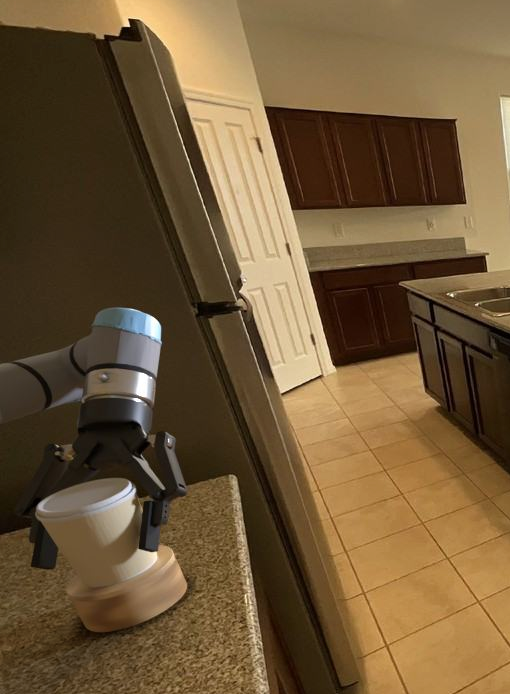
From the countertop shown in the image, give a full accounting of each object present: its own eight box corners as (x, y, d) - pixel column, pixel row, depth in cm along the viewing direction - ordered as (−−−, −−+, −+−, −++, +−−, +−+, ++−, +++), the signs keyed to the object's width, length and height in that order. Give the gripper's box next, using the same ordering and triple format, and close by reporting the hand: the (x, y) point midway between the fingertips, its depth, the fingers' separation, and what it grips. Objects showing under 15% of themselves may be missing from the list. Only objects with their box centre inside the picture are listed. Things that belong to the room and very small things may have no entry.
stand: (64, 641, 68) (43, 605, 66) (113, 586, 78) (96, 553, 75) (165, 620, 71) (148, 586, 69) (200, 570, 81) (187, 538, 78)
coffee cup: (150, 540, 78) (118, 470, 73) (177, 560, 74) (144, 487, 69) (64, 577, 71) (22, 501, 66) (88, 601, 66) (45, 522, 62)
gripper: (-8, 405, 69) (-47, 574, 61) (197, 386, 76) (184, 536, 68) (39, 426, 76) (9, 581, 68) (223, 407, 82) (215, 546, 75)
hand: (96, 558), depth 68 cm, fingers open, 10 cm apart
